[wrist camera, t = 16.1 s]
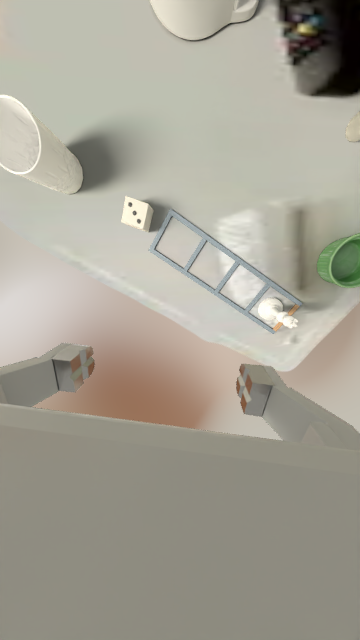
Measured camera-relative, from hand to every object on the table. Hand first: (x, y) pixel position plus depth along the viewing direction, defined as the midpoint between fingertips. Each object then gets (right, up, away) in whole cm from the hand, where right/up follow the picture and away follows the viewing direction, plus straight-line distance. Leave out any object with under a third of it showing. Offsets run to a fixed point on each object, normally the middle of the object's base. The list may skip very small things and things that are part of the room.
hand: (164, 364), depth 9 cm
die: (-7, +22, +24) cm, 33 cm away
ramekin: (+32, +14, +24) cm, 42 cm away
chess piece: (+20, +5, +28) cm, 35 cm away
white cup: (-20, +30, +22) cm, 42 cm away
